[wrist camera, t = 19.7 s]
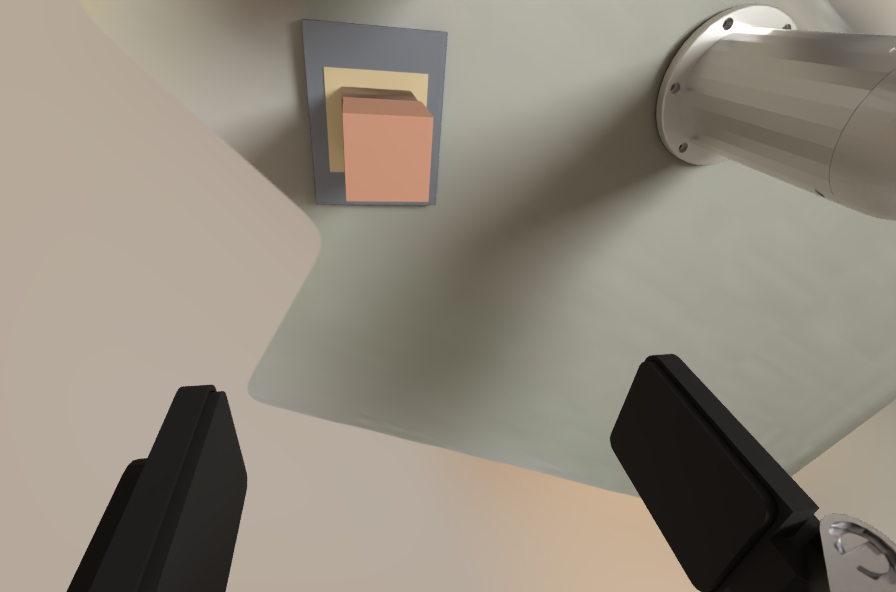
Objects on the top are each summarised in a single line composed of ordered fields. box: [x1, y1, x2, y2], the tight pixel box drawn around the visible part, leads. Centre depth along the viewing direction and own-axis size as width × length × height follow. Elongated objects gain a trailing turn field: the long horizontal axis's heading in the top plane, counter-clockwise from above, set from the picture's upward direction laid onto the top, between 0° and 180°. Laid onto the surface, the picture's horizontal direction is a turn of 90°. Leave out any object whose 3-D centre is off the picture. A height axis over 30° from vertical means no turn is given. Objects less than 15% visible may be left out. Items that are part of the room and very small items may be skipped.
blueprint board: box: [302, 19, 448, 205], centre depth 34 cm, size 10×13×1 cm
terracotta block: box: [342, 97, 434, 202], centre depth 28 cm, size 5×5×5 cm
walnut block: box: [341, 86, 418, 172], centre depth 32 cm, size 5×5×5 cm
